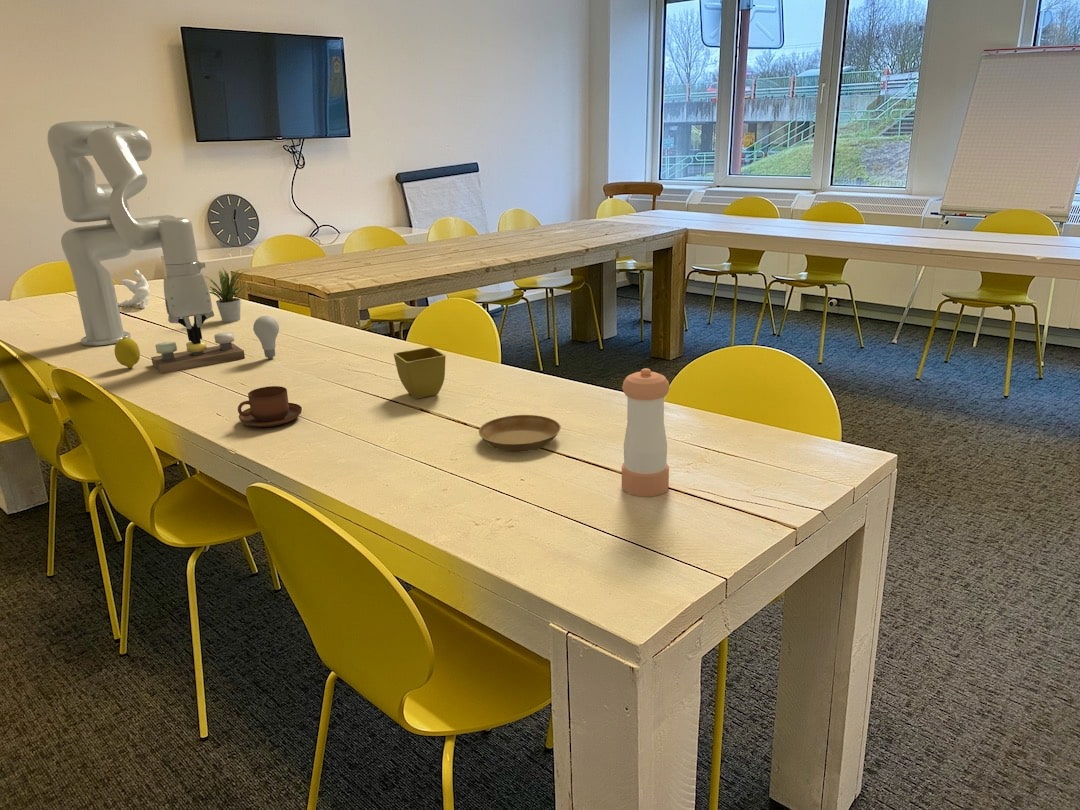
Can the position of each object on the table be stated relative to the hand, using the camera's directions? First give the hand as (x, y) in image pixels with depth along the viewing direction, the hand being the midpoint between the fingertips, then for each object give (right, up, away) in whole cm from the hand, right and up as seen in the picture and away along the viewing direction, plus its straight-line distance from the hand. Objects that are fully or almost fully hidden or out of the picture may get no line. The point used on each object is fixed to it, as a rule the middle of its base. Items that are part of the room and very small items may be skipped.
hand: (196, 342), depth 206 cm
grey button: (+6, -2, +5) cm, 8 cm away
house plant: (-7, +10, +46) cm, 47 cm away
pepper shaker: (+103, -29, -78) cm, 132 cm away
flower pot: (+61, -14, -30) cm, 69 cm away
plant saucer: (+83, -22, -57) cm, 103 cm away
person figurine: (-49, +18, +73) cm, 90 cm away
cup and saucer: (+33, -19, -42) cm, 57 cm away
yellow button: (0, -4, +2) cm, 4 cm away
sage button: (-6, -5, -3) cm, 8 cm away
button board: (0, -5, +2) cm, 5 cm away
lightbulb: (+18, -4, +2) cm, 19 cm away
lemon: (-15, -7, -2) cm, 17 cm away
